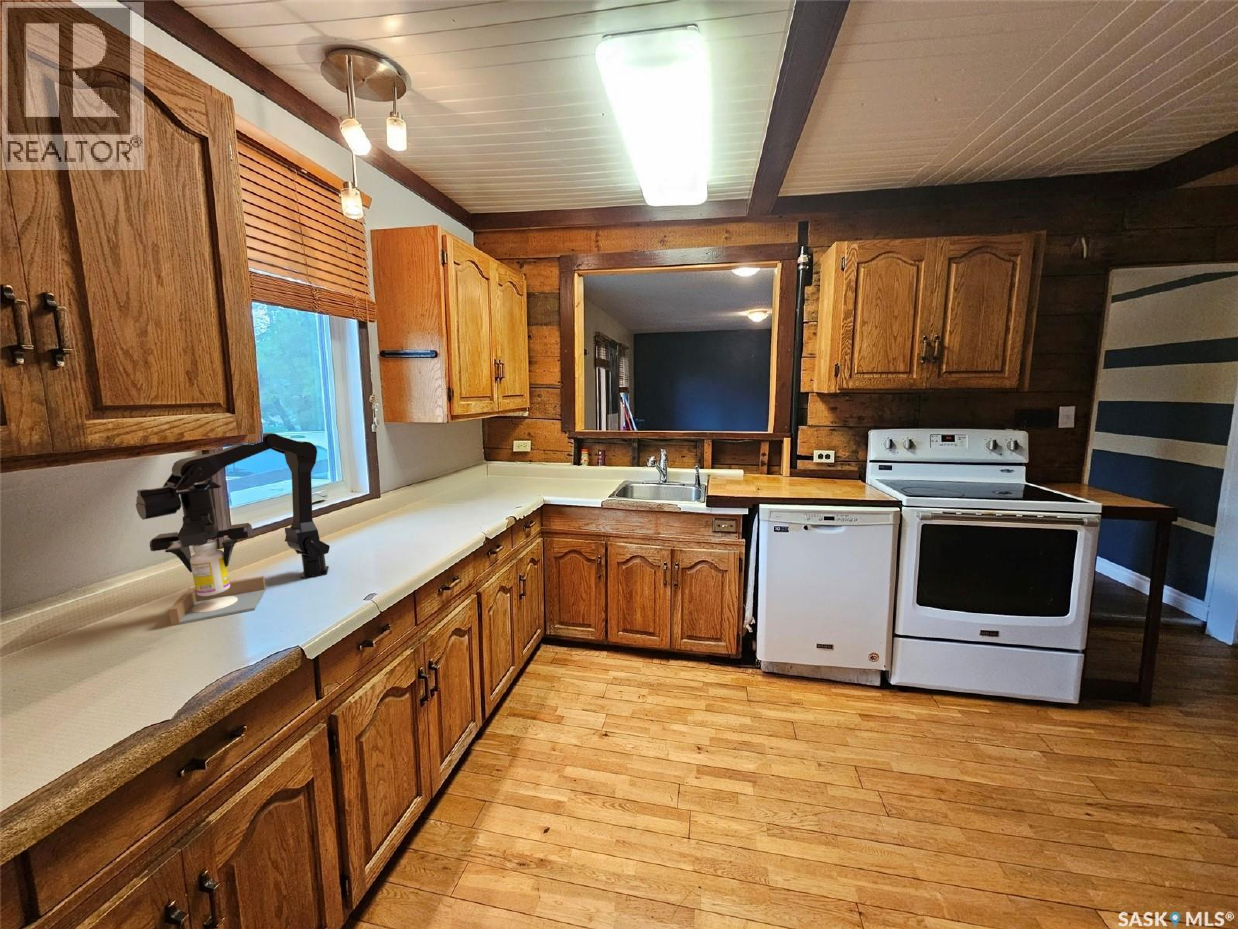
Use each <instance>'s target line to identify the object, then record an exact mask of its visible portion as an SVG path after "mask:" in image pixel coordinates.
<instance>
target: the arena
mask: <svg viewBox="0 0 1238 929" xmlns="http://www.w3.org/2000/svg"><path fill="white" fill-rule="evenodd" d="M229 581H230V580H229ZM266 591H267V587H266V581H265V575H261V576H255V577H250V578H244V579H238V580H237V579H236V580H232V581H230V588H229V589H227V590H226V591H224V592H221V593H218V594H215V595H210V596H199V595H197V593H196V588H195V586H194V587H190V588H188V589H186V591H185V592H184V593H183V594H182V595H181V596H180V597H179V598H178V599H177V600H176V601H175V602H174V603H173V604H172V606H171V607H169V608H168V614H169V620H170V625H171V627H172V626H177V625H182V624H187V623H194V622H198V621H203V620H208V619H213V618H218V617H219V618H220V617H225V616H229V615H234V614H236V615H237V614H239V613H245V612H251V611H255V610H256V608H257V607H258V605H259V603H260V601H261V600H262V598H263V596H264V594H265V592H266Z"/></svg>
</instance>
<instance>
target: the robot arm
mask: <svg viewBox="0 0 1238 929" xmlns="http://www.w3.org/2000/svg"><path fill="white" fill-rule="evenodd" d="M262 434H263V442H262V443H257V444H254V445H236V444H235V445H236V446H233V445H231V446H229V447H225V448H223V449H220V450H218V451H215V452H211V453H206V454H199V455H194V456H190V457H185V458H180V459H178V460H176V461H175V462H174V463H173V465H172V467H171V474H170V476H169V477H167V479H166V481H165V482H164V484H163V486H162V487H156V488H149V489H147V488H145V489H138V490H137V491H136V493H137V496H136V500H135V501H136V503H135V508H136V511H137V514H138V516H139V517H140V519H141V520H149V519H155V518H159V517H160V518H161V517H165V516H169V515H170V516H171V515H174V514H177V512H178V511H180V509H181V508H182V513H183V516H182V526H181V527H180V529H179V531H175V532H167V533H160V534H158V535H156V536H155V537H153V538H152V539H151V540H150V541H149V548H150V551H151V552H156V551H164V552H165V553H171V554H173V555H175V556H176V557H177V558H178V559H179V560H180V561H181V562H182V564H183V565H184V566H185V567H186V569H187V570H188V571H189V573H192V569H191V564H190V558H191V557H192V554H191V553H192V552H191V549H190V546H191V547H192V546H193V545H203V544H206V543H207V542H208V541H209V540H213V539H218V538H219V539H220V538H223V539H224V540H223V541H222V542H221V545H222V547H223V552H224V562H225V566H226V567H227V568H228V566H229V564H230V561H231V556H232V553H233V549H234V547H235V545H236V543H237V542H239V541H240V540H243V539H247V538H249V537H250V536H251V535H252V534H253V526H252V525H251V524H250V523H249V522H245V523H244V522H243V523H238V524H237V523H236V524H235V523H234V524H231V525H230V526H229V527H228V528H225V529H219V525H218V524H217V520H216V519H217V518H216V509H215V508H214V502H213V496H212V491H211V490H215V489H220V488H221V484H219V483H216V482H214V481H213V480H212V479H210V478H212V477H213V476H216V475H217V474H218V473H219V472H220V471H222V470H223V469H224V468H226V467H228V466H231V465H233V464H235V463H238V462H240V461H241V462H242V461H244V460H245V459H249V458H251V457H252V456H256V455H258V454H260V453H263V452H266V451H268V450H272V451H274V452H276V453H277V452H278V453H279V454H283V455H284V458H285V463H286V465H287V466H288V468H289V470H290V473H291V489H292V491H291V493H292V497H291V498H292V522H291V525H290V527H285V528H284V532H285V539H284V542H286V543H287V546H288V547H289V548H290V549H292V550H294V551H295V552H296V554H299V555H301V563H302V569H303V570H302V574H301V576H300V577H301V579H307V578H311V577H317V576H324V575H327V574H328V573H329V565H327V564H326V556H325V555H326V554H329V552H330V547H331V546H330V545H329V544H327V543H325V542H323V541H322V540H321V539H320V534H319V531H318V530H319V529H318V528H317V526H316V524H315V523H314V520H313V494H312V491H313V490H312V472H313V469H314V467H315V465H316V463H317V456H318V448H317V447H316V445H315V444H313V443H312V442H310V441H301V440H295V439H291V438H289V437H284V436H282V435H279V434H276V433H273V432H272V433H271V432H264V433H262Z"/></svg>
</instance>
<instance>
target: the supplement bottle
mask: <svg viewBox="0 0 1238 929" xmlns="http://www.w3.org/2000/svg"><path fill="white" fill-rule="evenodd" d="M191 547H192V551H193V552H194V554H192V555H191V558H190V564H191V569H192V572H191V573H192V578H193V581H194V582H193V583H194V584H193V585H194V587H195V588H196V593H197V595H199V596H210V595H215V594H218V593H221V592H224V591H226V590H227V589H229V588H230V576H229V571H228V566H227V567H226V566H225V562H224V550H221V549H218V541H217V540H216V539H215V540H213V539H210V540H208V542H207V543H206V544H203V545H192V546H191Z"/></svg>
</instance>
